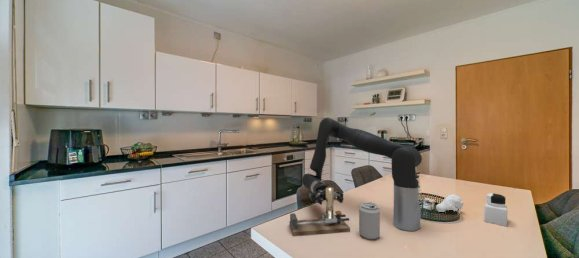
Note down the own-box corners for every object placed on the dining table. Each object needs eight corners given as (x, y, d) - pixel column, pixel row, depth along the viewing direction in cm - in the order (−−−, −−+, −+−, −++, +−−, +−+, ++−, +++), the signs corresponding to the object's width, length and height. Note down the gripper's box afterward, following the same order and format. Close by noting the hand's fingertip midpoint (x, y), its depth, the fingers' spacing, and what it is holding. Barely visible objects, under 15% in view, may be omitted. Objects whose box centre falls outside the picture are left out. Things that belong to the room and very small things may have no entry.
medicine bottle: (506, 221, 97) (507, 194, 97) (507, 226, 92) (507, 198, 92) (484, 216, 102) (485, 191, 102) (484, 221, 97) (484, 194, 97)
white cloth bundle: (464, 196, 105) (441, 199, 103) (465, 213, 105) (443, 217, 103) (452, 192, 111) (431, 195, 109) (454, 208, 111) (432, 212, 110)
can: (377, 242, 80) (377, 209, 80) (356, 237, 84) (356, 205, 84) (381, 234, 86) (381, 203, 86) (361, 229, 90) (361, 200, 90)
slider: (344, 217, 95) (345, 185, 95) (349, 221, 91) (349, 188, 91) (322, 218, 94) (322, 186, 94) (325, 223, 89) (325, 189, 89)
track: (340, 220, 98) (340, 207, 98) (350, 231, 88) (350, 216, 88) (289, 224, 95) (289, 210, 94) (293, 236, 85) (293, 220, 85)
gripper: (305, 182, 105) (314, 193, 89) (334, 181, 107) (348, 191, 91) (305, 198, 105) (314, 211, 89) (334, 196, 107) (348, 209, 91)
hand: (331, 201), depth 90 cm, fingers open, 8 cm apart
